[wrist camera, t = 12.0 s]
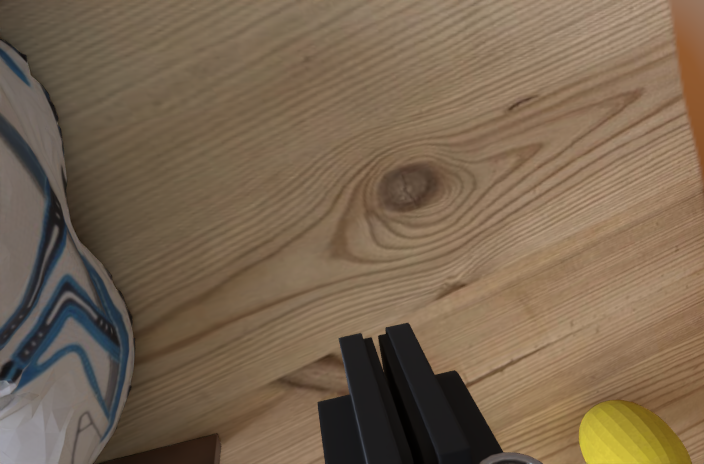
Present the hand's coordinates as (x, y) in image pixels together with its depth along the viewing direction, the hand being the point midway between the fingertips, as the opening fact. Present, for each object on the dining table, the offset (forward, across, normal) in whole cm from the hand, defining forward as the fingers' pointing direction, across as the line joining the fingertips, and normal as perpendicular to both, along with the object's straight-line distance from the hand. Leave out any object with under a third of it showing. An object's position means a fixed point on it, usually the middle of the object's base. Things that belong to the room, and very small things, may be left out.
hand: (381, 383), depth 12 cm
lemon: (+17, -16, +20) cm, 30 cm away
